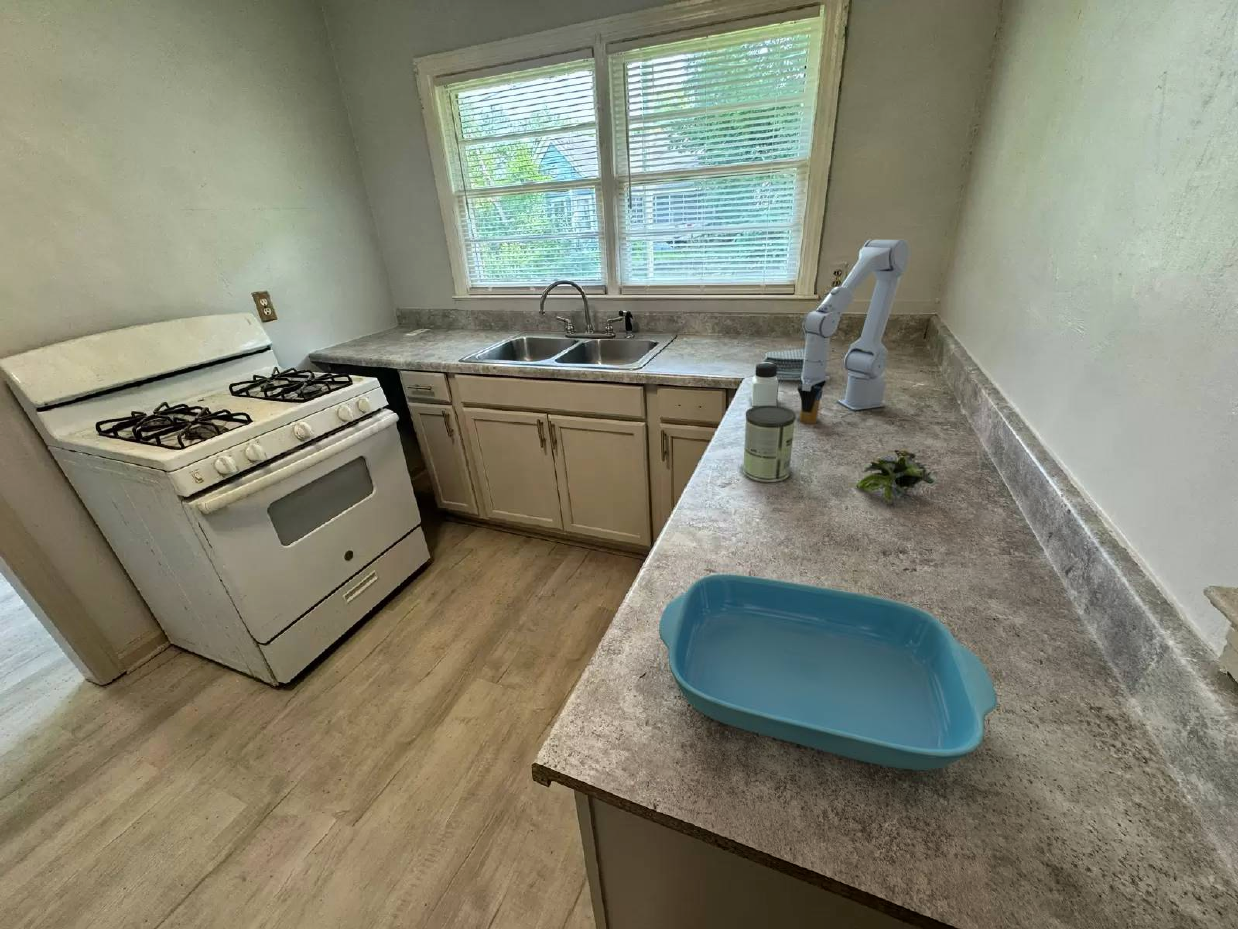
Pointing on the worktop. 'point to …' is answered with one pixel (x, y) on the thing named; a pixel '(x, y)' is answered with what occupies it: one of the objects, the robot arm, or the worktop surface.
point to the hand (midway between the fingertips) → (809, 408)
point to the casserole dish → (828, 670)
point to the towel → (787, 363)
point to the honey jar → (810, 414)
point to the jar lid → (818, 393)
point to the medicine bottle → (765, 385)
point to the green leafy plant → (895, 474)
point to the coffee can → (768, 443)
